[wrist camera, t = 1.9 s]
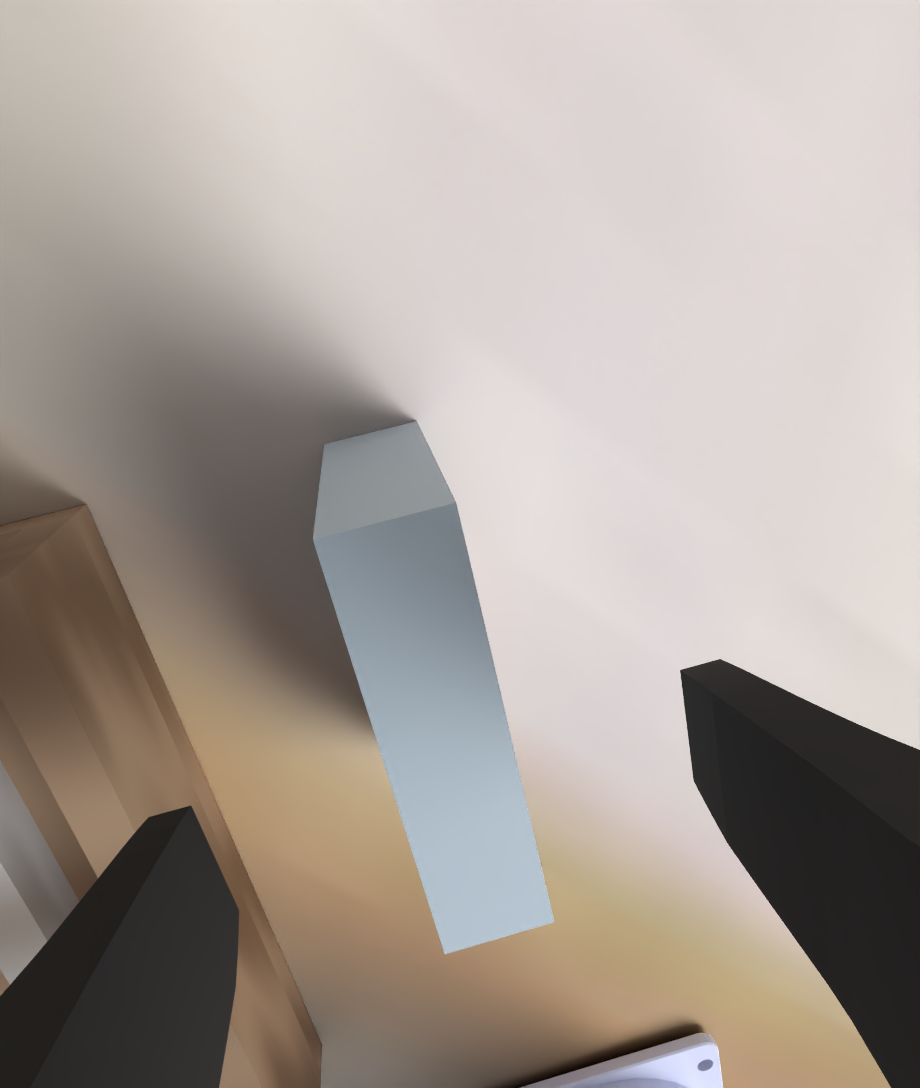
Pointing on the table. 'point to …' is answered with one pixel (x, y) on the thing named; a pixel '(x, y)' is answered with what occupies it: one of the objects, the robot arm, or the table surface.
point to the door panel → (429, 682)
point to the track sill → (111, 779)
